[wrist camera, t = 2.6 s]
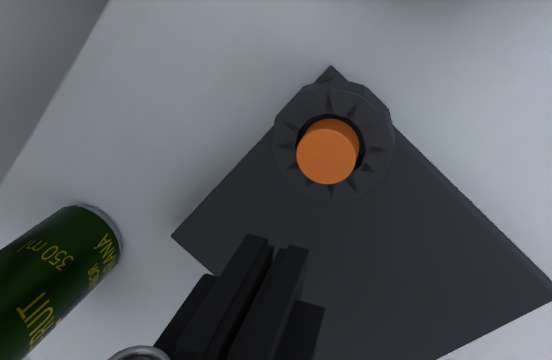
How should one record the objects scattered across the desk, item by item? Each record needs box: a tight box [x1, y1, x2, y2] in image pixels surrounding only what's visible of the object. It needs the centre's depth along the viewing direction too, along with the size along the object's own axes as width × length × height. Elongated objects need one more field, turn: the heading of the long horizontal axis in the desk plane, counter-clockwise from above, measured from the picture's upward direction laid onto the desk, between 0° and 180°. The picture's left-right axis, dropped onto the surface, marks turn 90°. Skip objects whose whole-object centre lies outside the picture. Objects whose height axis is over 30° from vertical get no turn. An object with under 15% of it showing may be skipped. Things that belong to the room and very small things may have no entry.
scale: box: [171, 66, 552, 360], centre depth 24 cm, size 16×15×3 cm
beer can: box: [0, 205, 122, 360], centre depth 26 cm, size 5×5×12 cm
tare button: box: [296, 119, 359, 184], centre depth 20 cm, size 3×3×2 cm
